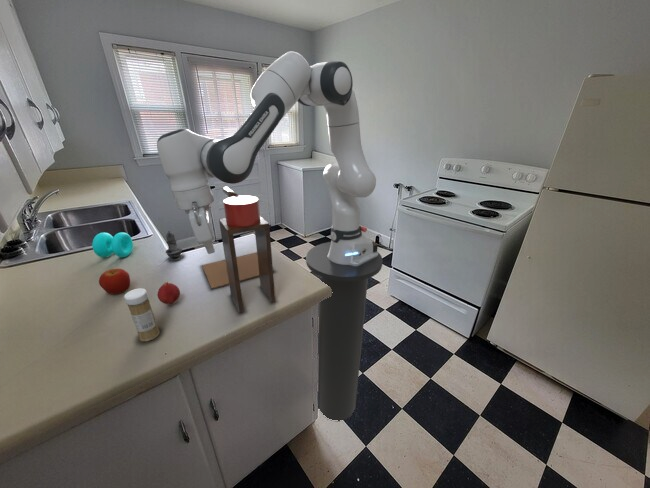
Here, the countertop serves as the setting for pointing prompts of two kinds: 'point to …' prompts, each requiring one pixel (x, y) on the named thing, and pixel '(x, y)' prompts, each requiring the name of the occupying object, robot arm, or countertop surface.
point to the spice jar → (142, 314)
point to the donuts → (112, 244)
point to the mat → (220, 276)
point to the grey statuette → (173, 248)
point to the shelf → (262, 252)
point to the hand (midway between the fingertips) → (211, 245)
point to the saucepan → (240, 209)
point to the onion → (168, 293)
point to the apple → (115, 281)
